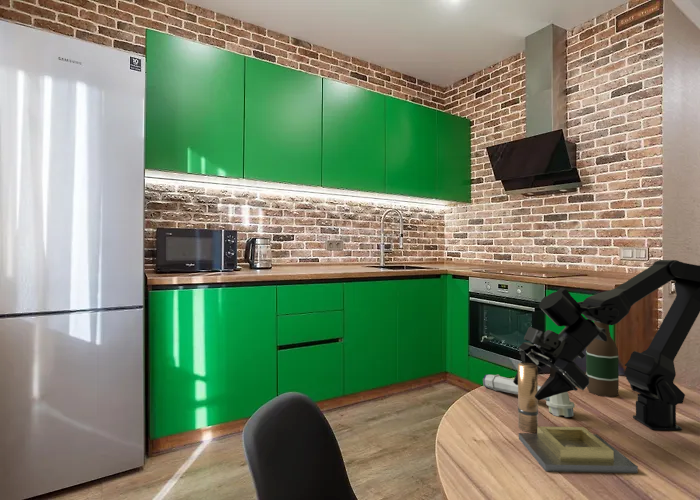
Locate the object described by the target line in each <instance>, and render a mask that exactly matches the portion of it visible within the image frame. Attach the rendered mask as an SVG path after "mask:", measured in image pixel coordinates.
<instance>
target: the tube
mask: <svg viewBox="0 0 700 500" xmlns="http://www.w3.org/2000/svg"><path fill="white" fill-rule="evenodd" d="M517 372H518V394H517V428H518V429H519V430H521V431H523V432H525V433H537V427H539V400H537V399H536V398H535V395H536V393H537V392H538V386H539V384H538V383H539V382H538V380H539V378H538V377H539V375H538V374H539V373H538V366H537V365H535V364H531V363H521V362H519V363H517Z"/></svg>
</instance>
